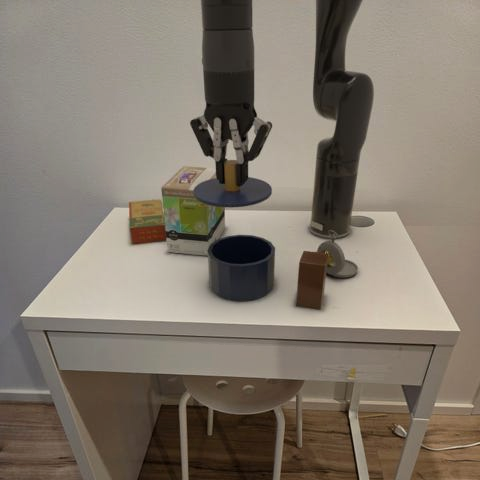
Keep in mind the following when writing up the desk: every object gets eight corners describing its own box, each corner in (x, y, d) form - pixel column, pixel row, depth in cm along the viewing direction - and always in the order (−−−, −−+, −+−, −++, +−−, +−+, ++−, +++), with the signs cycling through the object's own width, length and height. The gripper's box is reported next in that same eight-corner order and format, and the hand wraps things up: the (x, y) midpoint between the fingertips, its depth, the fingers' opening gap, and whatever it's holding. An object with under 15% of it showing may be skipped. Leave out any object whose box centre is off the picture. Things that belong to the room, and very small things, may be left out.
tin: (216, 266, 91) (214, 233, 86) (276, 269, 89) (277, 236, 85) (204, 299, 81) (201, 263, 77) (270, 303, 79) (271, 267, 75)
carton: (163, 214, 114) (161, 198, 111) (168, 240, 101) (166, 223, 98) (130, 217, 112) (128, 201, 110) (131, 244, 100) (128, 227, 97)
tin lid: (202, 181, 81) (200, 149, 78) (274, 183, 80) (275, 151, 76) (185, 209, 70) (182, 174, 67) (268, 212, 69) (268, 176, 65)
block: (300, 293, 82) (303, 250, 77) (323, 296, 81) (328, 253, 76) (295, 306, 79) (299, 262, 73) (320, 309, 78) (325, 265, 72)
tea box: (210, 257, 94) (206, 190, 85) (166, 253, 96) (158, 187, 87) (226, 228, 106) (224, 166, 97) (187, 225, 108) (181, 164, 99)
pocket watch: (359, 265, 90) (366, 220, 84) (353, 286, 84) (361, 238, 78) (319, 260, 92) (324, 215, 86) (311, 279, 86) (316, 232, 80)
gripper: (282, 64, 64) (278, 181, 74) (197, 61, 68) (205, 172, 79) (264, 71, 58) (263, 196, 69) (174, 68, 63) (185, 186, 73)
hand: (232, 183), depth 74 cm, fingers closed on tin lid, 2 cm apart
